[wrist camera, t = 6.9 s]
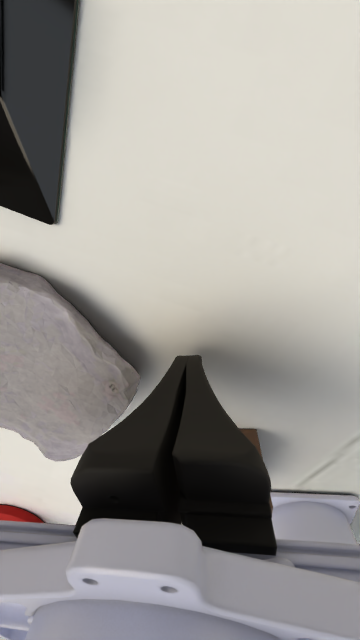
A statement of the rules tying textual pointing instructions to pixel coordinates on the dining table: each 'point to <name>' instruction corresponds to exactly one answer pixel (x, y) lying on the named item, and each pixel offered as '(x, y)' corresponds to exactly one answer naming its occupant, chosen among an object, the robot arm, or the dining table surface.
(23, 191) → the build plate
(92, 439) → the stone block
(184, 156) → the dining table surface
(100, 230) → the dining table surface
